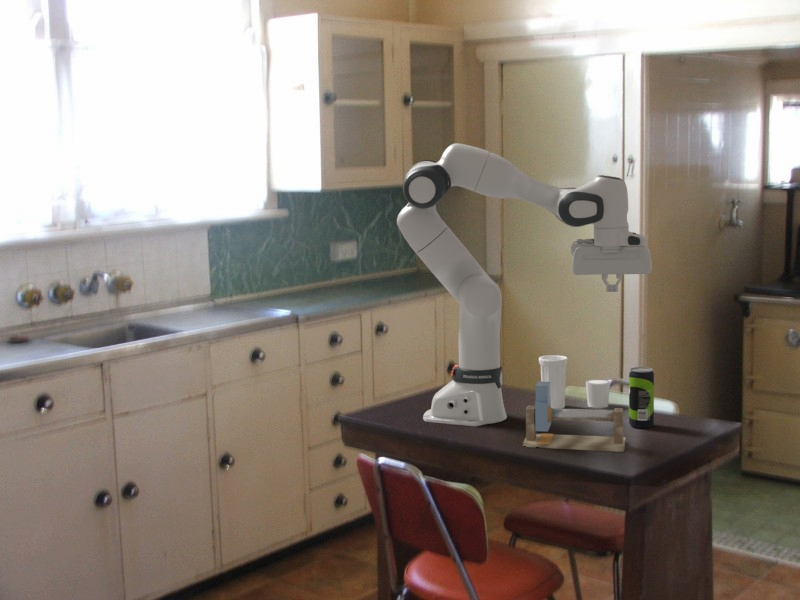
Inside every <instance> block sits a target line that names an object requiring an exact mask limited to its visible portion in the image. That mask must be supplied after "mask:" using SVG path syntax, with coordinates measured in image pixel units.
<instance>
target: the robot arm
mask: <svg viewBox="0 0 800 600" xmlns="http://www.w3.org/2000/svg"><path fill="white" fill-rule="evenodd" d="M441 154H442V155H441V156H440V159H439V160H438V161H434V160H431V159H425V160H420V161H417V162H416V163H415V164H414V165H412V166H411V167H410V168H409V169H408V171H407V173H406V174H405V177H404V180H403V182H402V192H403V195H404V198H405V199H406V201H407V202H408V203H407V204H406V205H405V206H404V207H403V208H401V210H400V212H399V213H398V215H397V218H396V225H397V227H398V229H399V231H400V232H401V234H402V236H403V238H404V239H405V241H406V242H407V244H408V245H409V247H410V248H411V249H412V250H413V251H414V253H415V254H416V255H417V256H418V257H419V259H420V260H421V261H422V262H423V263H424V265H425V266H426V267H427V268H428V270H429V271H430V272H431V273H432V274H433V275H434V277H435V278H436V279H437V280H438V282H439V283H440V284H441V285H442V286H443V287H444V288H445V289H446V291H448V292H449V294H450V295H451V297H452V298H454V300H455V301H456V302H457V303H458V305H459V310H458V311H459V316H458V317H459V318H458V319H459V321H458V324H459V325H458V337H457V339H458V340H457V341H458V345H457V346H458V364H454V366H453V367H452V368H451V369H452V370H451V374H450V376H451V379H452V380H451V381H449V382H448V383H447V384H446V385H444V386H443V387H441V388H440V389H439V390H438V391H437V392H435V394H434V396H433V397H432V400H431V407H430V409H427V410H426V411H425V412H424V413H423V416H422V420H423V421H424V422H426V423H427V422H429V423H436V424H437V423H438V424H447V425H455V426H469V427H479V426H483V425H484V426H485V425H488V424H496V423H500V422H503V421H505V420H506V419H507V418H508V416H507V413H506V409H505V406H504V400H503V393H502V387H503V370H502V369H503V367H502V366H501V341H500V340H501V339H500V338H501V336H500V335H501V324H502V323H501V321H502V308H503V307H502V303H503V301H502V298H503V296H502V292H501V288H500V287H499V285H498V283H496V282H495V281H494V280H493V279H492V278H491V277H490V275H489V274H487V272H486V271H485V270H484V268H483V267H482V266H481V265H480V264H479V262H478V261H477V260H476V258H475V257H474V256H473V254H471V253H470V251H469V250H468V249H467V247H466V246H465V245H464V244H463V243H462V242H461V240H460V239H459V238H458V237H457V236H456V234H455V233H454V232H453V230H452V229H451V228H450V227H449V226H448V225H447V224H446V223H445V221H444V220H443V219H442V218H441V216H440V214H439V213H438V211H437V206H436V205H438V204H439V203H440V201H442V199H443V197H445V195H446V194H447V192H448V191H449V190H450V189H451V188H452V187H460V188H463V189H466V190H469V191H471V192H473V193H477V194H478V195H481V196H485V197H489V198H494V199H495V198H496V199H516V200H520V201H525V202H527V203H530V204H532V205H535V206H538V207H541V208H542V209H545V210H548V211H549V212H550V213H552V214H553V215H554V216H555V217H556V219H558V220H559V221H561V223H563V224H565V225H567V226H568V227H571V228H581V227H585V226H587V225H591V224H592V225H593V238H587V239H582V238H578V239H576V240H575V241H573V242H572V243H571V244H570V254H571V255H572V256H573V257H572V265H571V266H572V268H571V271H572V273H573V274H574V275H575V276H587V275H588V276H590V275H591V276H592V275H593V276H595V275H597V276H598V275H599V276H600V275H601V280H602V282H603V283H604V285H605V287H606V289H605V291H606V293H618V292H619V284H620V283H621V281H622V279H623V275H649V274H650V273H651V272H652V271H653V263H652V255H651V251H650V249H649V247H648V246H647V245H646V244H647V237H646V236H645V235H643V234H639V233H636V232H633V231H630V230H629V229H630V228H629V227H630V226H629V221H628V212H629V196H628V195H629V194H628V193H629V192H628V188H627V187H628V186H627V184H626V182H625V181H624V180H623V179H622V178H620V177H616V176H611V175H604V174H603V175H602V174H599V175H596V176H595V177H594V178H593V179H591V180H590V181H588V182H586V183H585V184H582V185H581V186H579V187H565V188H564V187H562V188H561V187H557V186H554V185H551V184H548V183H547V182H546V183H545V182H543V181H540V180H538V179H535V178H533V177H531V176H529V175H527V174H526V173H524V171H522V170H520V169H519V168H518V167H517V166H516V165H515V164H514V163H512V162H511V161H509V160H507V159H506V158H505V157H502V156H501V155H498V154H497V153H495V152H492V151H489V150H487V149H483V148H480V147H478V146H477V147H476V146H473V145H469V144H464V143H456V142H455V143H452V144H450V145H449V146H448V147H447V148H445V150H444V151H443V153H441ZM609 275H615V276H616V277H615V279H616V280H617V281H616V282H615V284H612V283H609V281H608V280H607V279H608V277H609Z"/></svg>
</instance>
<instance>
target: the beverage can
mask: <svg viewBox="0 0 800 600" xmlns="http://www.w3.org/2000/svg"><path fill="white" fill-rule="evenodd" d="M628 375H629V376H628V423H629V425H630V426H631V428H634V429H639V430H641V429H645V430H646V429H650V428H652V427H653V425H654V424H655V423H654V422H655V421H654V420H655V417H654V416H655V414H654V413H655V412H654V411H655V373H654V369H653V368H651V367H647V366H646V367H644V366H638V367H637V366H635V367H632V368H630V372H629V373H628Z"/></svg>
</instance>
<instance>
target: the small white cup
mask: <svg viewBox="0 0 800 600" xmlns="http://www.w3.org/2000/svg"><path fill="white" fill-rule="evenodd" d="M585 388H586V390H585V391H586V399H587V401H586V402H587V406H588V407H591V408H592V409H593V408H594V409H595V408H596V409H604V408H608V407H609V403H610V401H609V400H610V389H611V381H609V380H606V379H588V380H586V381H585Z"/></svg>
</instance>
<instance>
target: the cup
mask: <svg viewBox="0 0 800 600" xmlns="http://www.w3.org/2000/svg"><path fill="white" fill-rule="evenodd" d="M568 360H569V359H568V357H567V356H566V355H565V356H564V355H557V354H556V355H555V354H550V355H549V354H548V355H542V356H541V355H540V356H539V357H538V364H539V365H540V379H541V381H540V382H550V397H551V407H552V408H558V409H565V407H566V385H567V384H566V382H567V364H568Z"/></svg>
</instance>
